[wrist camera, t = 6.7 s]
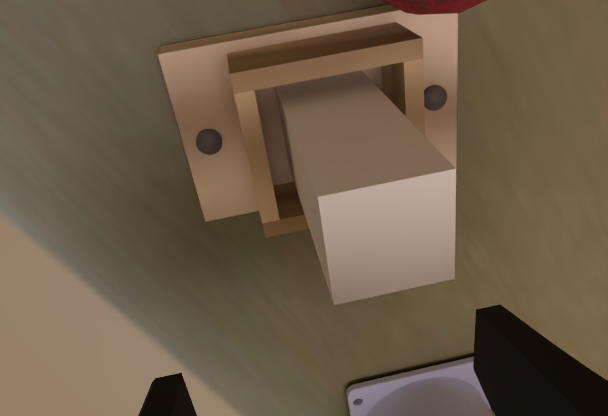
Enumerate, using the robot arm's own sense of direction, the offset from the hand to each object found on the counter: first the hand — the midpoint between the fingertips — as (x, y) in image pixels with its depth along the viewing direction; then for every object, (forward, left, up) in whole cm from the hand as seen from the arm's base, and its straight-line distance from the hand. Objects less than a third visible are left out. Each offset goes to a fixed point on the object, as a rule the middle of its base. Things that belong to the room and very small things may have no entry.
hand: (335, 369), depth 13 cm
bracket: (+3, -2, -10) cm, 10 cm away
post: (+3, -2, -9) cm, 9 cm away
